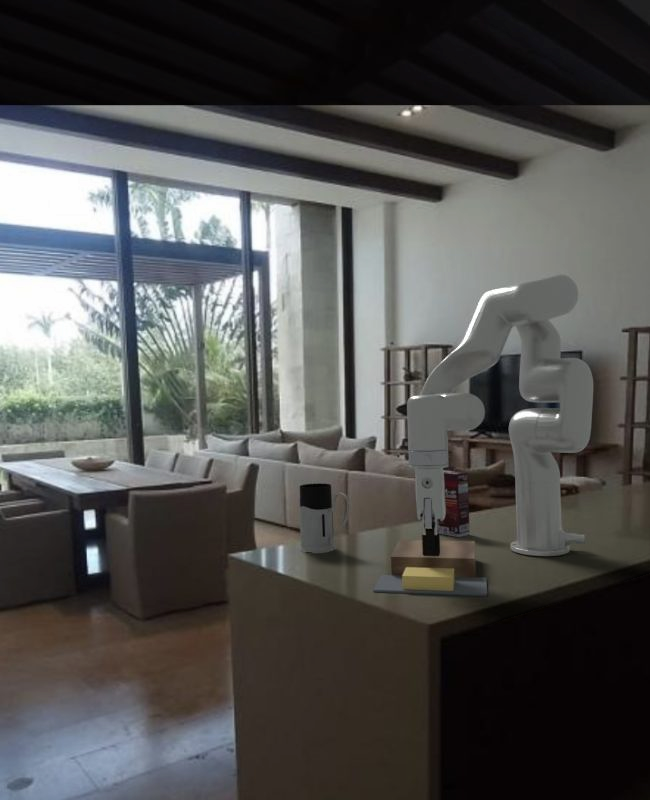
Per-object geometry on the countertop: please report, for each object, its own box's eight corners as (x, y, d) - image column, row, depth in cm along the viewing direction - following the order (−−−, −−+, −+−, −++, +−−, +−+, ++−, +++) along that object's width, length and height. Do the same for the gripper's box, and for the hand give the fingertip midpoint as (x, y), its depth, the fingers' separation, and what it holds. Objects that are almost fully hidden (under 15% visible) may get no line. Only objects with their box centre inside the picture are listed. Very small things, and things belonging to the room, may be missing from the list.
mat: (486, 579, 122) (486, 577, 122) (487, 596, 112) (487, 593, 112) (381, 576, 126) (381, 574, 126) (373, 591, 116) (373, 589, 116)
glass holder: (315, 543, 158) (313, 482, 158) (361, 550, 149) (359, 485, 149) (291, 550, 151) (289, 486, 151) (338, 558, 142) (336, 490, 142)
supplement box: (431, 533, 165) (429, 471, 165) (443, 530, 168) (441, 469, 168) (459, 538, 158) (456, 473, 159) (470, 534, 162) (468, 471, 162)
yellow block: (452, 577, 114) (453, 590, 114) (454, 568, 120) (454, 581, 120) (402, 575, 116) (402, 589, 116) (405, 567, 122) (406, 579, 122)
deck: (475, 559, 137) (474, 541, 137) (475, 579, 122) (474, 558, 122) (400, 558, 140) (399, 539, 140) (391, 577, 126) (390, 556, 126)
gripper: (446, 463, 115) (449, 565, 115) (449, 455, 129) (452, 546, 129) (404, 463, 117) (407, 564, 117) (412, 456, 131) (415, 545, 131)
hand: (431, 554), depth 123 cm, fingers closed
